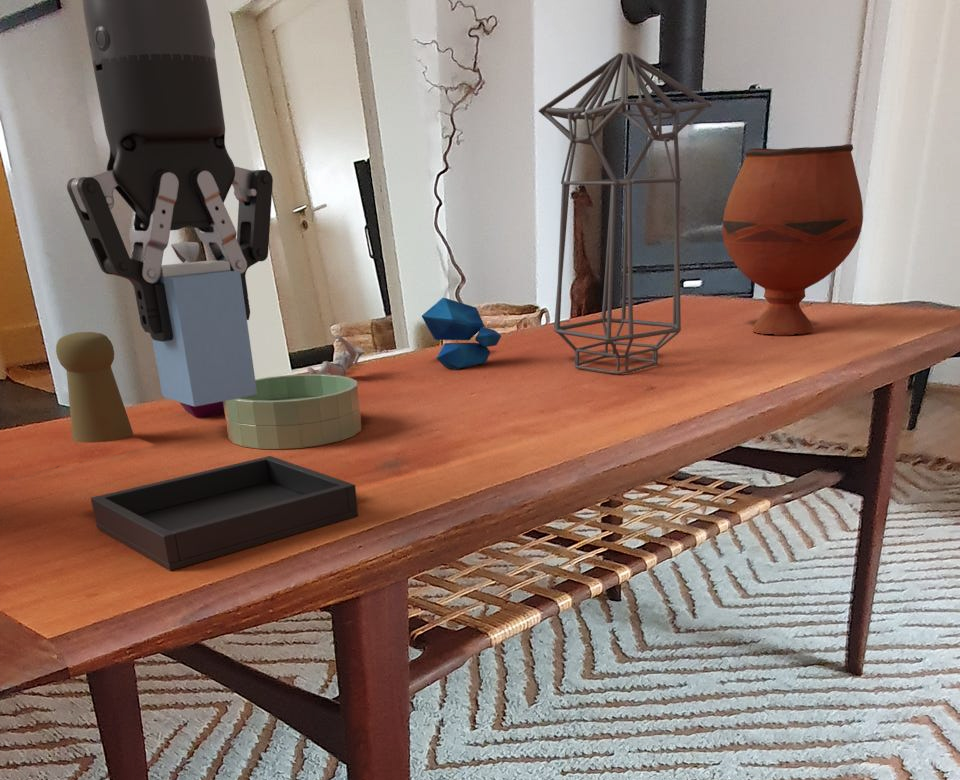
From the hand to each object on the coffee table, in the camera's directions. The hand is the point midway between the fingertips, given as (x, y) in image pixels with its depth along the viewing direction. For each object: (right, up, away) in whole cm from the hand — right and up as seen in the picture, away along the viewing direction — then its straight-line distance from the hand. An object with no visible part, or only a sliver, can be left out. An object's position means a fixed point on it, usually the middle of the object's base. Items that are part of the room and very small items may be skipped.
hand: (199, 333), depth 68 cm
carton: (0, -4, +2) cm, 4 cm away
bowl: (+1, -1, +30) cm, 30 cm away
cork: (-18, -2, +29) cm, 34 cm away
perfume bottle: (-10, +3, +40) cm, 41 cm away
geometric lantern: (+38, +14, +57) cm, 70 cm away
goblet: (+65, +25, +78) cm, 104 cm away
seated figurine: (+1, +11, +54) cm, 55 cm away
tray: (0, -13, +6) cm, 14 cm away
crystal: (+17, +15, +62) cm, 66 cm away
